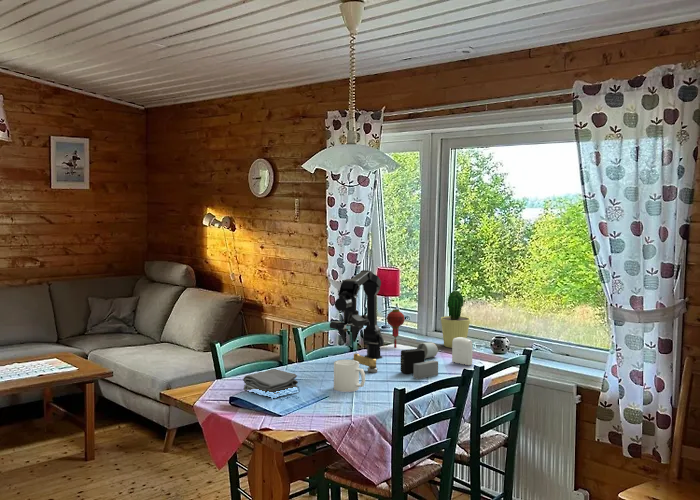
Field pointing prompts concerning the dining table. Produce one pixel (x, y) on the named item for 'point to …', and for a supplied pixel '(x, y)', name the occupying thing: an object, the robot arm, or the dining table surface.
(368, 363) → the gold bone
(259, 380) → the towel
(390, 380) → the dining table surface
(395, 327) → the lantern
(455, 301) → the potted cactus
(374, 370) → the grey round base
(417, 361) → the electronic device
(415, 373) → the socket block
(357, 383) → the mug
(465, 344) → the white rounded block
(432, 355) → the ceramic mug
